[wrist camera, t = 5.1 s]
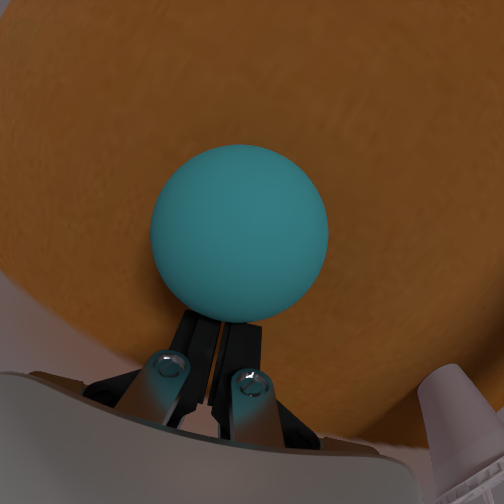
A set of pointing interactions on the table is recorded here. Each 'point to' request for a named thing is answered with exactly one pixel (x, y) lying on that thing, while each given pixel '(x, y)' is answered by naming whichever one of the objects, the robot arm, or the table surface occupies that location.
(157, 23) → the table surface
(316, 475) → the robot arm
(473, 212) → the table surface
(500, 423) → the smoothie
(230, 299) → the ball
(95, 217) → the table surface
